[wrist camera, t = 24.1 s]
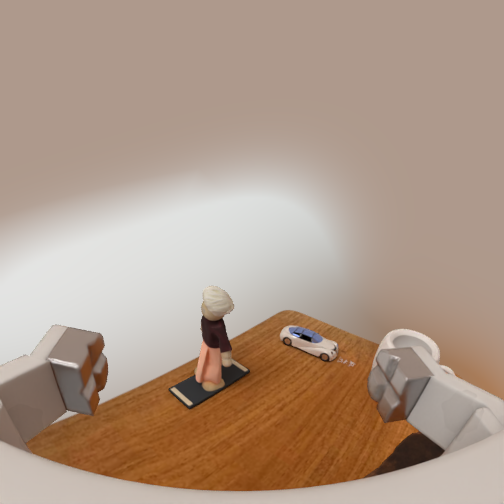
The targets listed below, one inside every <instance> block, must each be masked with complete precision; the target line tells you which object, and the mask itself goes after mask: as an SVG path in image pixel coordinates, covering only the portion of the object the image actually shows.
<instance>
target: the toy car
mask: <svg viewBox="0 0 504 504" xmlns="http://www.w3.org/2000/svg"><path fill="white" fill-rule="evenodd" d="M280 338H281V340H282V341H283V342H284V344H286V345H291V344H292V346H294V347H298V348H300V349H302V350H304V351H306V352H308V353H310V354H313V355H315V356H317V357H319V355H320V354H321V355H320V358H321V359H322V360H323V361H328V360H329V358H330V360H329V361H331V360H333V359H334V358H335V357H336V356H337V354H338V349H339V348H338V344H337V343H336V342H334V341H331V340H327V339H325V338H324V337H322V336H320V335H319V334H318V333H316V332H314V331H312V330H309V329H306V328H302V327H298V326H286V327H285V328H284V329H283V330H282V332H281V334H280ZM336 349H337V354H336V352H335V351H334V350H336ZM341 362H342V361H341ZM346 362H347V361H346ZM351 364H352V362H351Z"/></svg>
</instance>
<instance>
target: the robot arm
mask: <svg viewBox="0 0 504 504" xmlns="http://www.w3.org/2000/svg"><path fill="white" fill-rule="evenodd" d="M104 346H105V345H104V340H103V336H102V335H101V334H100V333H96V332H91V331H86V330H81V329H76V328H71V327H70V328H69V327H66V326H61V325H53V326H52V327H51V328H50V329H49V331H48V332H47V333H46V334H45V336H44V337H43V338H42V340H41V341H40V342H39V344H38V345H37V346H36V348H35V349H34V350H33V352H32V353H31V354H30V356H28V355H23V356H21V357H19V358H17V359H14V360H12V361H10V362H7V363H5V364H3V365H1V366H0V504H504V401H503V400H502V399H501V398H499V397H497V396H495V395H492V394H490V393H488V392H486V391H484V390H482V389H480V388H478V387H476V386H474V385H472V384H470V383H468V382H466V381H464V380H462V379H460V378H458V377H456V376H454V375H452V374H450V373H449V374H446V373H445V371H444V370H443V369H442V368H441V367H440V365H439V364H438V363H437V362H436V361H435V360H434V358H433V357H432V356H431V355H430V354H429V353H428V351H427V350H426V349H425V348H424V347H422V346H420V345H419V346H410V347H405V348H391V349H381V351H380V352H379V353H378V355H377V357H376V362H377V366H376V367H374V368H373V369H372V370H371V372H370V374H369V377H368V385H367V387H368V392H369V394H370V396H371V398H372V399H373V400H375V401H376V402H378V405H377V410H378V412H379V414H380V416H381V417H382V419H383V421H384V423H387V422H393V421H399V420H405V419H407V420H406V421H407V422H409V423H410V424H411V425H413V426H414V427H415V428H416V429H418V430H419V431H420V432H422V433H423V434H424V435H425V436H427V437H428V438H429V439H431V440H432V441H433V442H434V443H436V444H437V445H438V446H440V447H441V448H442V449H444V450H445V452H444V453H443V454H442V455H441V456H440V457H438V458H435V459H432V460H430V461H427V462H423V463H420V464H417V465H414V466H411V467H407V468H404V469H400V470H397V471H393V472H389V473H385V474H381V475H377V476H372V477H368V478H363V479H358V480H353V481H348V482H342V483H336V484H330V485H323V486H315V487H307V488H297V489H285V490H269V491H210V490H194V489H182V488H172V487H164V486H157V485H150V484H143V483H137V482H132V481H126V480H121V479H117V478H112V477H107V476H103V475H99V474H95V473H91V472H87V471H84V470H80V469H76V468H73V467H70V466H66V465H63V464H60V463H57V462H54V461H51V460H48V459H45V458H43V457H40V456H37V455H34V454H32V453H31V451H30V450H29V448H28V446H27V445H26V443H27V442H28V441H29V440H31V439H32V438H33V437H34V436H36V435H37V434H38V433H40V432H41V431H42V430H44V429H45V428H46V427H47V426H49V425H50V424H51V423H53V422H54V421H55V420H57V419H58V418H59V417H60V416H62V415H63V414H64V413H66V412H67V411H66V410H68V411H72V412H77V413H81V414H86V415H91V416H94V413H95V411H96V408H97V406H98V403H99V400H100V398H99V394H98V392H99V391H101V390H103V389H104V387H105V385H106V382H107V375H108V363H107V358H106V357H105V356H104V354H103V353H102V350H103V348H104Z"/></svg>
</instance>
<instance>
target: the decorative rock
mask: <svg viewBox="0 0 504 504" xmlns="http://www.w3.org/2000/svg"><path fill="white" fill-rule="evenodd" d="M444 452H445V450H444V449H442V448H441V447H440V446H438V445H437V444H436V443H434V442H433V441H432V440H431V439H429V438H428V437H427V436H425V435H424V434H423V433H422V432H420V431H419V432H417V433H412V434H411V435H409V436H408V437H407V438H405V439H404V440H403V441H402V442H401V443H400V444H399V445H398V446H397V447H396V448H395V450H394V452H393V453H392V454H391V455H390V456H389V457H388V458H387V459H386V460H385V461H384V462H383V463H382V464H381V465H380V467H379V468H377V469H375V470H374V471H373V472H371V473H370V474H368V475H367V476H365V477H364V478H368V477H372V476H377V475H381V474H385V473H389V472H393V471H397V470H400V469H404V468H407V467H411V466H414V465H417V464H420V463H423V462H427V461H430V460H432V459H435V458H438V457H440V456H441V455H442V454H443V453H444Z"/></svg>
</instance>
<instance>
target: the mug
mask: <svg viewBox="0 0 504 504" xmlns="http://www.w3.org/2000/svg"><path fill="white" fill-rule="evenodd" d="M419 345H420V346H422V347H424V348H425V349H426V350H427V351H428V353H429V354H430V355H431V356H432V357H433V358H434V360H435V361H436V362H437V363H438V364H439V361H440V351H439V348H438V346H437V345H436V344H435V342H434V341H433V340H431V339H430V338H429V337H427V336H426V335H424V334H421V333H419V332H416V331H413V330H408V329H396V330H393V331H391V332H390V333H388V334H387V335H386V336H385V337H384V339H383V340H382V342H381V344H380V345H379V348H378V350H377V352H376V355H375V358H374V361H373V366H372V369H373V368H374V367H376V366H377V362H376V357H377V355H378V353H379V352H380V351H381V349H391V348H405V347H410V346H419ZM440 367H441V368H442V369H443V370H444V371H445V372H446V373H448V374H449V373H450V374H452V375H454V376H455V374H454V372H453V370H452V369H450V368H448V367H447V366H442V365H440Z"/></svg>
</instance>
